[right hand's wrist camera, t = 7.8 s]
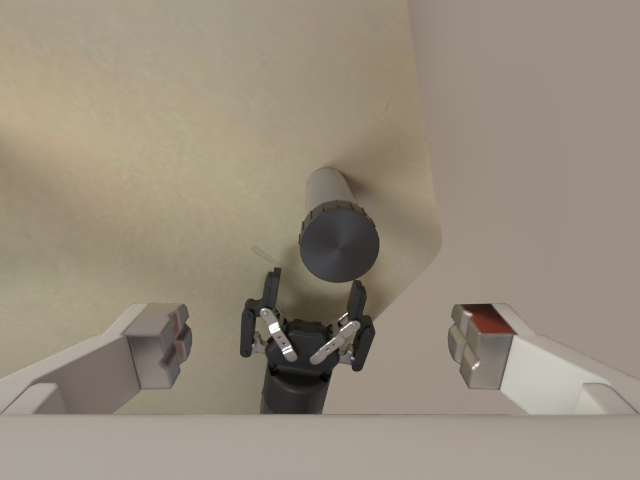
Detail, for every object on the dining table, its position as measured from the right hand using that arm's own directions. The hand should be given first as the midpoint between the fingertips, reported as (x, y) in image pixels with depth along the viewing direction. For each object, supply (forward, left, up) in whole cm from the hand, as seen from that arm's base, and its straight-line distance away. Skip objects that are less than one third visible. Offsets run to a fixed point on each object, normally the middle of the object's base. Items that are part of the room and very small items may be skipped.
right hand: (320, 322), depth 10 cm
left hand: (-7, -7, -22) cm, 25 cm away
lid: (-1, -3, -12) cm, 12 cm away
